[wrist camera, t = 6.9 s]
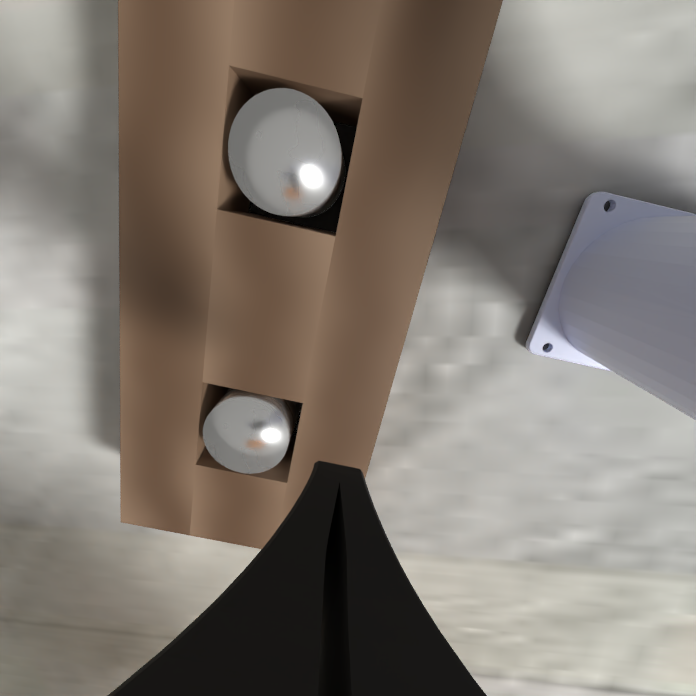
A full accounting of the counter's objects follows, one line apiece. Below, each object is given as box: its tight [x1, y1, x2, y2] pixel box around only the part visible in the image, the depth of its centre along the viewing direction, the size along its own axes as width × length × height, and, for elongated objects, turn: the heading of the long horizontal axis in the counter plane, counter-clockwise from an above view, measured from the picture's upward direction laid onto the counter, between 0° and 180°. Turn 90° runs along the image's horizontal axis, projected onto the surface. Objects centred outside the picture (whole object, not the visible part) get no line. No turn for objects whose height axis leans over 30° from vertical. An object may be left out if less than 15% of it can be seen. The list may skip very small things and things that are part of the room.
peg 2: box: [203, 388, 301, 474], centre depth 18 cm, size 4×4×4 cm
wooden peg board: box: [118, 0, 503, 549], centre depth 16 cm, size 12×26×4 cm, turn 168°
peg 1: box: [228, 88, 345, 218], centre depth 14 cm, size 4×4×4 cm
